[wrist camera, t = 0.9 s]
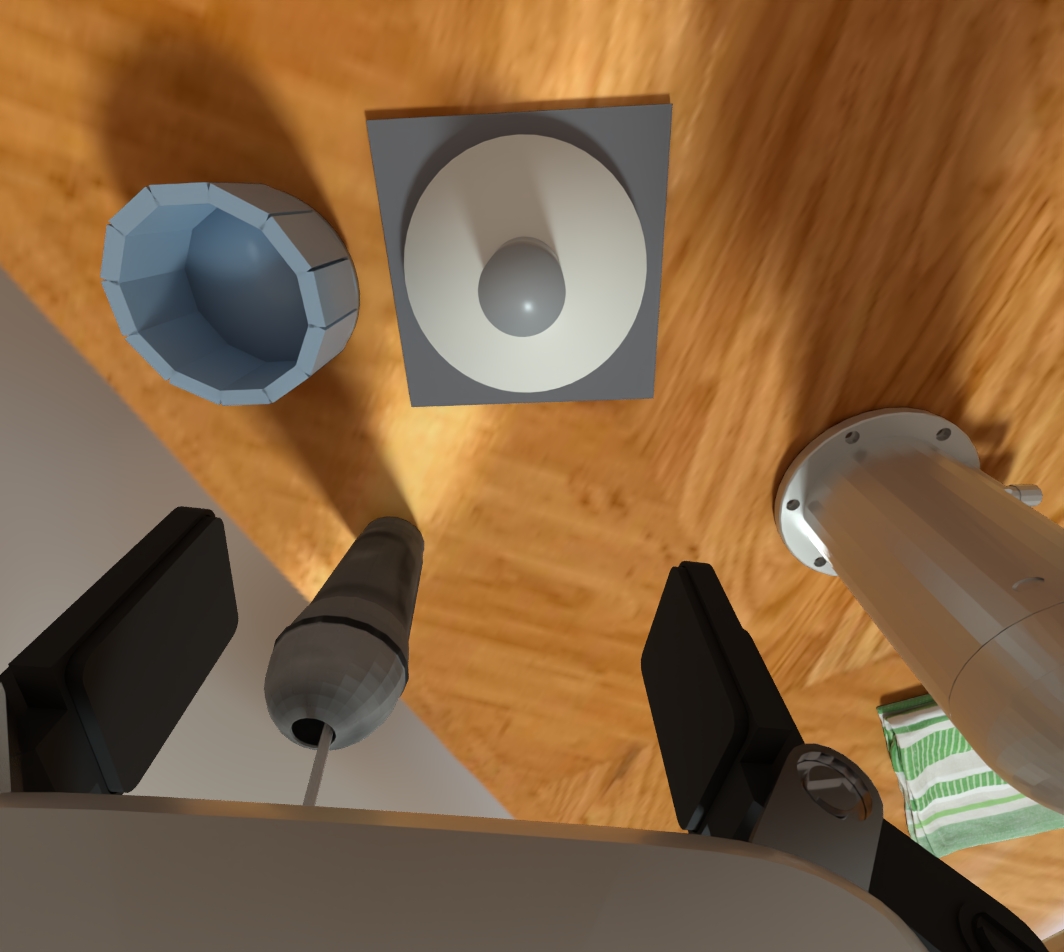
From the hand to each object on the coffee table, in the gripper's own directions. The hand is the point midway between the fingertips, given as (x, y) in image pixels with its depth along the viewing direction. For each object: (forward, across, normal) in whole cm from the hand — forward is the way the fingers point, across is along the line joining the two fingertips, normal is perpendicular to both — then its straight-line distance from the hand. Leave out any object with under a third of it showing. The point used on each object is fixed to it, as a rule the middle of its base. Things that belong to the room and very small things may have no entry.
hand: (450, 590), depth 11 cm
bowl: (+23, +13, -1) cm, 27 cm away
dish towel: (+22, -49, +32) cm, 63 cm away
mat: (+23, -1, -3) cm, 23 cm away
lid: (+23, -1, -3) cm, 23 cm away
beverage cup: (+23, +6, +16) cm, 29 cm away
